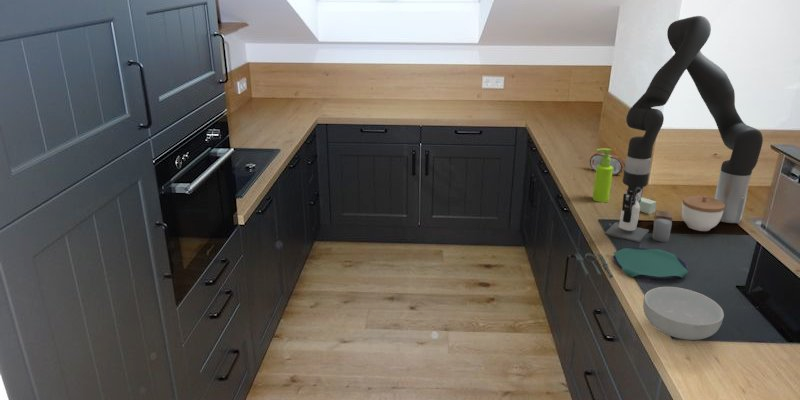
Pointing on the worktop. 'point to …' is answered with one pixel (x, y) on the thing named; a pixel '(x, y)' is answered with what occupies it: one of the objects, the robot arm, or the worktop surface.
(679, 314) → the cereal bowl
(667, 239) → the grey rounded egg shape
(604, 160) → the soap dispenser
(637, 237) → the mat
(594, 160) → the tin
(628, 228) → the white tall lump
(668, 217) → the walnut cube
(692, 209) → the lidded bowl
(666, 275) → the teal place setting
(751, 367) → the worktop surface
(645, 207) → the sage bar
